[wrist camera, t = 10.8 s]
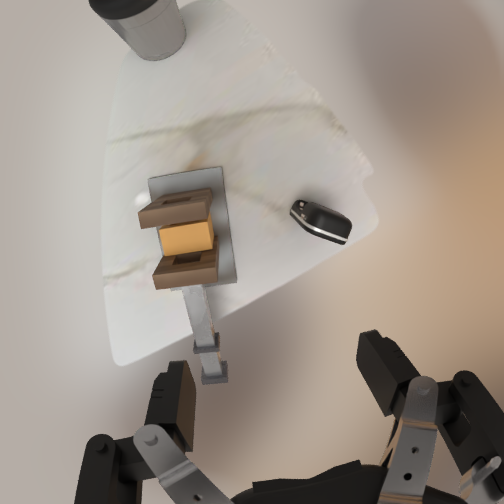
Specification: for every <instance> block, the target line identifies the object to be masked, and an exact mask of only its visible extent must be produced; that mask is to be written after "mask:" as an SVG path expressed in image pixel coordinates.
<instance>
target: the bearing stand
mask: <svg viewBox="0 0 504 504" xmlns="http://www.w3.org/2000/svg"><path fill="white" fill-rule="evenodd" d="M148 184H149V190H150V196H151V202H152V203H150V204H149V205H148V206H146V207H145V208H143V209H142V210H141V211H139V212H138V216H139V221H140V226H141V229H144V228H151V227H156V228H157V233H158V238H159V242H160V247H161V251H162V256H163V257H162V259H161V260H160V262H159V264H158V266H157V268H156V270H155V271H154V273H153V275H152V277H153V280H154V284H155V288H156V290H158V289H167V288H170V289H171V291H174V290H182V288H181V287H184V286H192V285H200V284H204V285H205V287H207V286H215V285H223V284H231V283H237V279H236V272H235V265H234V258H233V251H232V244H231V237H230V230H229V222H228V215H227V207H226V200H225V192H224V184H223V177H222V169H221V167H215V168H208V169H202V170H195V171H189V172H183V173H177V174H172V175H166V176H161V177H155V178H150V179H148ZM209 211H210V214H211V220H212V226H213V231H214V239H213V247H212V249H209V250H203V251H196V252H190V253H184V254H177V255H171V256H165V255H164V251H163V246H162V242H161V238H160V233H159V229H160V228H161V227H162V226H163V225H169V224H176V223H182V222H189V221H195V220H202V219H207V218H208V214H209ZM196 261H200V262H196ZM188 262H193V263H188ZM181 263H185V264H181Z"/></svg>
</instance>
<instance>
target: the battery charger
mask: <svg viewBox="0 0 504 504" xmlns="http://www.w3.org/2000/svg"><path fill="white" fill-rule="evenodd" d="M290 215H291V216H292V217H293V218H294V219H295V220H296V221H297V223H298V224H299V225H300V226H301V227H302V228H303V229H304V230H306V231H307V232H309V233H311V234H313V235H315V236H318V237H321V238H324V239H326V240H329V241H332V242H335V243H338V244H341V245H344V244H345V243H346V242H347V240H348V236H349V234H350V231H351V229H352V223H351V221H350V220H349V219H348V218H346V217H345V216H344V215H342V214H340V213H338V212H336V211H334V210H331V209H328V208H326V207H324V206H321V205H318V204H316V203H312V202H311V203H308V202H306V201H303V200H297V201H296V202H295V203H294V205H293V207H292V209H291V212H290Z"/></svg>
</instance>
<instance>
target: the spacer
mask: <svg viewBox="0 0 504 504" xmlns="http://www.w3.org/2000/svg"><path fill="white" fill-rule="evenodd" d="M159 233H160V238H161V242H162V246H163V251H164V255H165V256H171V255H177V254H184V253H190V252H196V251H203V250H209V249H212V247H213V239H214V231H213V226H212V220H211V214H210V211H209V214H208V218H207V219H202V220H195V221H189V222H182V223H176V224H169V225H163V226H162V227H161V228H160V229H159Z"/></svg>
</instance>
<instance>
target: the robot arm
mask: <svg viewBox="0 0 504 504" xmlns="http://www.w3.org/2000/svg"><path fill="white" fill-rule="evenodd" d="M89 4H90V6H91V8H92V9H93V10H94V11H95V12H96V13H97V14H98V15H99V16H100V17H101V18H102V19H103V20H104V21H105V22H106V23H107V24H108V25H109V26H110V27H111V28H112V29H113V30H114V31H115V32H116V33H117V34H118V35H119V36H120V37H121V38H122V39H123V40H124V41H125V42H126V43H127V44H128V45H129V46H130V47H131V48H132V49H133V50H134V51H135V52H136V54H137V55H139V56H140V57H141V58H143V59H146V60H154V61H155V60H161V59H164V58H167V57H169V56H171V55H172V54H174V53H175V52H176V51H177V50H178V49H180V47H181V46H182V44H183V43H184V40H185V37H186V30H185V27H184V24H183V21H182V18H181V15H180V12H179V9H178V6H177V3H176V0H89ZM356 361H357V366H358V368H359V370H360V372H361V374H362V376H363V377H364V379H365V381H366V383H367V385H368V386H369V388H370V390H371V392H372V394H373V396H374V397H375V399H376V401H377V403H378V405H379V407H380V408H381V410H382V412H383V414H384V416H385V417H386V416H389V415H391V414H393V415H394V417H395V420H394V422H393V426H392V429H391V432H390V436H389V439H388V442H387V445H386V448H385V451H384V454H383V456H382V458H381V460H380V463H379V465H361V463H360V460H356V461H352V462H349V463H346V464H342V465H339V466H336V467H333V468H331V469H329V470H327V471H325V472H323V473H321V474H319V475H317V476H315V477H312V478H310V479H273V480H266V481H258V482H252V484H253V488H251V489H248V490H245V491H243V492H241V493H239V494H237V495H236V496H234V497H233V498H231V499H229V498H228V497H226V496H225V495H224V494H223V493H222V492H221V491H220V490H219V489H218V488H217V487H216V486H215V485H214V484H213V483H212V482H211V481H210V480H209V479H208V478H207V477H206V476H205V475H204V474H203V473H202V472H201V471H200V470H199V469H198V468H197V466H196V465H195V464H193V463H192V462H191V461H190V460H189V459H188V458H187V457H186V456H185V452H192V451H193V437H194V420H195V405H196V387H195V382H194V380H193V377H192V374H191V371H190V368H189V365H188V363H187V361H186V360H183V361H170V362H169V366H168V371H167V372H166V373H160V374H159V375H158V377H157V378H156V379H155V381H154V384H153V388H152V390H153V391H152V393H151V398H150V401H149V406H148V411H147V415H146V420H145V424H144V426H143V427H141V428H139V429H138V430H137V431H136V433H135V435H134V436H132V437H128V438H123V439H118V440H113V438H111V437H110V436H109V435H106V434H98V435H95V436H93V437H92V438H91V439H90V440H89V441H88V443H87V445H86V449H85V453H84V457H83V462H82V466H81V470H80V475H79V480H78V485H77V490H76V496H75V502H74V504H141V500H142V482H143V480H146V479H151V478H156V477H157V478H158V480H159V483H160V485H161V486H162V487H163V489H164V490H165V491H166V492H167V494H168V495H169V496H170V498H171V499H172V500H173V501H174V502H175V504H497V503H498V502H500V501H501V500H503V499H504V413H503V411H502V410H501V408H500V407H499V405H498V404H497V403H496V401H495V400H494V399H493V397H492V396H491V395H490V393H489V392H488V391H487V389H486V388H485V387H484V386H483V384H482V383H481V381H480V380H479V379H478V377H476V375H475V374H474V373H472V372H470V371H459V372H458V373H456V374H455V376H454V378H453V380H451V381H444V382H436V381H435V380H434V379H432V378H430V377H428V376H421V375H420V374H419V372H418V371H417V370H416V368H415V367H414V366H413V364H412V363H411V362H410V360H409V359H408V358H407V356H405V354H404V353H403V352H402V350H401V349H400V348H399V346H398V345H397V344H396V342H394V341H393V340H391V339H389V338H388V337H385V338H382V336H381V335H380V334H379V332H378V331H377V330H375V329H374V330H371V331H367V332H363V333H360V336H359V342H358V349H357V355H356ZM463 413H464V414H463ZM465 416H466V417H465ZM466 418H467V419H468V420H467V419H466ZM468 421H469V422H468ZM437 429H438V430H439V432H440V433H441V435H442V437H443V439H444V441H445V443H446V444H447V447H448V449H449V450H450V452H451V454H452V456H453V458H454V460H455V462H456V464H457V466H458V468H459V471H460V473H461V475H462V477H461V480H460V483H459V493H460V494H461V495H460V497H457V496H455V495H452V494H449V493H446V492H443V491H440V490H437V489H435V488H432V487H430V486H427V485H426V482H427V479H428V475H429V471H430V467H431V462H432V458H433V453H434V448H435V442H436V437H437Z"/></svg>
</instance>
